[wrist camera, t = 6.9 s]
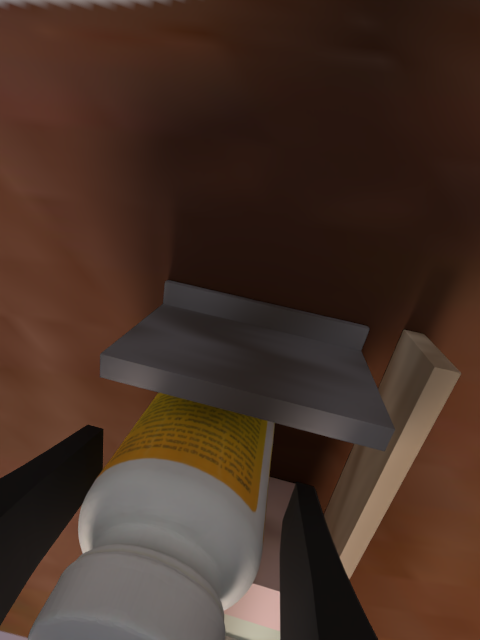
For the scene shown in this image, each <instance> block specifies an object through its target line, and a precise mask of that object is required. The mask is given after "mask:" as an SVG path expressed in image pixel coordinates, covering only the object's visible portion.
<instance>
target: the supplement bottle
mask: <svg viewBox="0 0 480 640" xmlns="http://www.w3.org/2000/svg"><path fill="white" fill-rule="evenodd" d="M274 428H275V423H274V422H270V421H266V420H262V419H258V418H255V417H251V416H247V415H243V414H239V413H235V412H232V411H228V410H224V409H220V408H216V407H213V406H209V405H205V404H201V403H197V402H194V401H190V400H186V399H182V398H178V397H174V396H171V395H167V394H163V393H158V394H157V395H156V397H155V398H154V400H153V401H152V402H151V404H150V405H149V407H148V408H147V409H146V411H145V412H144V413H143V415H142V416H141V418H140V419H139V420H138V422H137V423H136V424H135V426H134V427H133V429H132V430H131V432H130V433H129V434H128V436H127V437H126V438H125V440H124V441H123V443H122V444H121V445H120V447H119V448H118V450H117V451H116V453H115V454H114V455H113V457H112V458H111V459H110V461H109V462H108V464H107V465H106V466H105V467H104V469H103V470H102V471H101V473H100V474H99V475H98V477H97V478H96V479H95V481H94V483H93V485H92V486H91V488H90V490H89V491H88V493H87V495H86V497H85V499H84V501H83V504H82V507H81V511H80V515H79V524H78V533H79V541H80V546H81V549H82V553H83V554H82V555H81V556H80V557H79V558H78V559H77V560H76V561H75V562H73V563H72V564H71V565H69V566H68V567H67V568H66V570H65V571H64V572H63V573H62V575H61V576H60V578H59V581H58V583H57V585H56V586H55V588H54V590H53V591H52V593H51V595H50V596H49V598H48V600H47V601H46V603H45V605H44V607H43V608H42V610H41V612H40V613H39V615H38V617H37V619H36V620H35V622H34V624H33V626H32V628H31V630H30V633H29V636H28V640H225V631H226V629H225V623H224V610H226V609H228V608H229V607H231V606H233V605H234V604H235V603H236V602H238V601H239V600H240V599H241V598H242V597H243V596H244V595H245V594H246V593H247V591H248V590H249V588H250V587H251V585H252V583H253V582H254V580H255V578H256V575H257V573H258V570H259V566H260V562H261V557H262V550H263V540H264V531H265V520H266V510H267V499H268V488H269V475H270V465H271V456H272V447H273V437H274Z"/></svg>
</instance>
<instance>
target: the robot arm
mask: <svg viewBox="0 0 480 640" xmlns="http://www.w3.org/2000/svg"><path fill="white" fill-rule="evenodd" d="M102 469H103V429H102V428H98V427H94V426H91V425H87V426H85V427H83V428H82V429H80V430H79V431H77V432H75V433H74V434H72V435H71V436H69V437H68V438H66V439H65V440H63V441H61V442H60V443H58V444H57V445H55V446H54V447H52V448H50V449H49V450H47V451H46V452H44V453H42V454H41V455H39V456H38V457H36V458H34V459H33V460H31V461H29V462H28V463H26V464H25V465H23V466H21V467H20V468H18V469H16V470H14V471H13V472H11V473H9V474H7V475H5V476H4V477H2V478H0V625H1V623H2V622H3V620H4V618H5V617H6V615H7V613H8V612H9V610H10V608H11V607H12V605H13V604H14V602H15V600H16V599H17V597H18V595H19V594H20V592H21V591H22V589H23V587H24V586H25V584H26V582H27V581H28V579H29V578H30V576H31V575H32V573H33V572H34V570H35V569H36V567H37V566H38V564H39V563H40V561H41V560H42V559H43V557H44V556H45V555H46V553H47V552H48V550H49V549H50V548H51V546H52V545H53V543H54V542H55V541H56V539H57V538H58V537H59V535H60V534H61V532H62V531H63V530H64V528H65V527H66V526H67V524H68V523H69V521H70V520H71V519H72V517H73V516H74V514H75V513H76V512H77V510H78V509H79V507H80V506H81V505H82V503H83V501H84V499H85V497H86V495H87V493H88V491H89V490H90V488H91V486H92V485H93V483H94V481H95V479H96V478H97V477H98V475H99V474H100V473H101V471H102ZM280 640H378V638H377V636H376V634H375V632H374V631H373V629H372V627H371V625H370V623H369V621H368V619H367V617H366V615H365V613H364V611H363V609H362V607H361V604H360V602H359V600H358V598H357V596H356V594H355V592H354V589H353V587H352V585H351V583H350V580H349V578H348V576H347V574H346V571H345V569H344V567H343V564H342V562H341V559H340V557H339V554H338V552H337V549H336V547H335V544H334V542H333V539H332V537H331V534H330V531H329V529H328V526H327V523H326V520H325V517H324V515H323V512H322V509H321V506H320V502H319V499H318V496H317V493H316V489H315V488H314V486H310V485H306V484H303V483H299V482H296V484H295V487H294V489H293V492H292V495H291V498H290V501H289V503H288V506H287V509H286V512H285V515H284V517H283V520H282V531H281V542H280Z"/></svg>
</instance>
